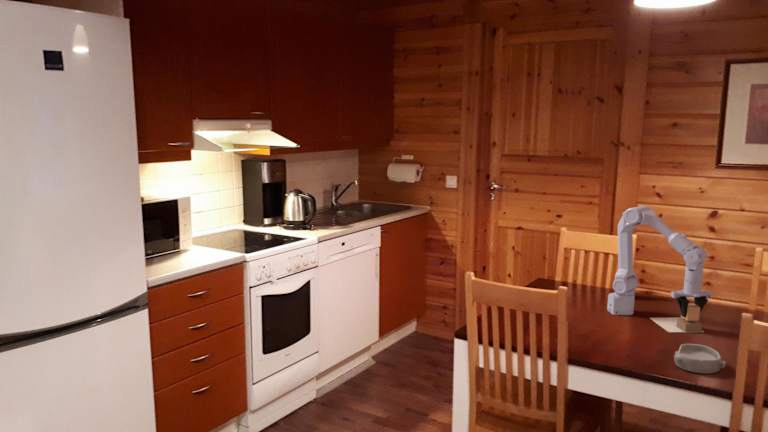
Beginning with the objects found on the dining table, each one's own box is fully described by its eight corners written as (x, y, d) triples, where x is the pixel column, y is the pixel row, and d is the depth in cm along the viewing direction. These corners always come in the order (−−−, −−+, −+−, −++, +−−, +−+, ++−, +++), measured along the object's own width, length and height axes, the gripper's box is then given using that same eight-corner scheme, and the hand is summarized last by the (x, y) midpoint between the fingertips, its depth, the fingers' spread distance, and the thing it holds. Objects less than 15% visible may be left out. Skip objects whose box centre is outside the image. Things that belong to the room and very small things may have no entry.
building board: (669, 335, 211) (670, 324, 210) (649, 320, 226) (649, 310, 226) (704, 334, 211) (705, 324, 211) (682, 319, 227) (683, 310, 226)
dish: (674, 371, 182) (675, 356, 181) (670, 354, 195) (671, 340, 194) (727, 379, 177) (729, 363, 176) (719, 361, 190) (721, 346, 189)
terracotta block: (687, 320, 212) (688, 307, 211) (680, 316, 216) (681, 303, 215) (699, 320, 212) (700, 307, 211) (692, 316, 216) (693, 303, 215)
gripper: (679, 283, 207) (676, 320, 210) (719, 283, 208) (715, 319, 210) (669, 278, 214) (666, 313, 217) (708, 277, 215) (704, 313, 217)
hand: (690, 316), depth 214 cm, fingers closed on terracotta block, 4 cm apart
